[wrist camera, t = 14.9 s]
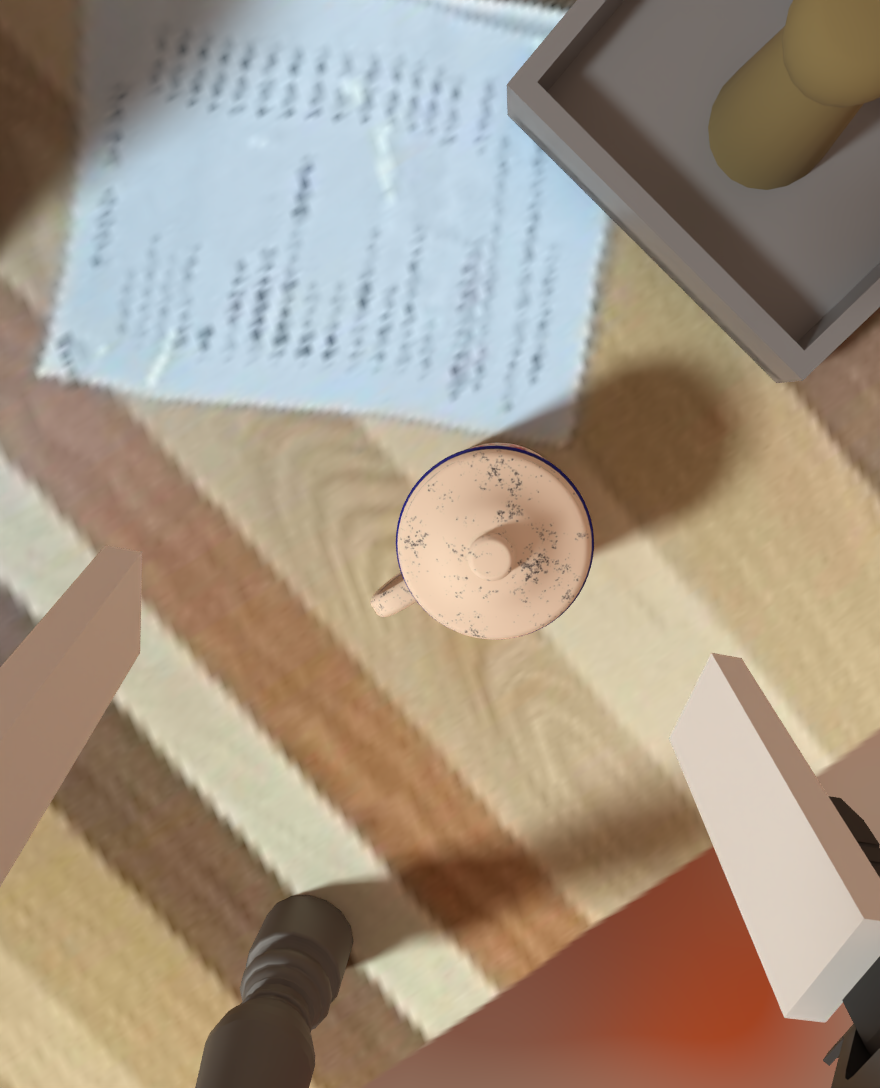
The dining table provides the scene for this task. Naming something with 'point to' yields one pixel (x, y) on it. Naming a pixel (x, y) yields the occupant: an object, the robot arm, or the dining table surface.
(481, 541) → the teacup with lid
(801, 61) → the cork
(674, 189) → the tray
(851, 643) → the dining table surface
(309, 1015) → the candle holder
